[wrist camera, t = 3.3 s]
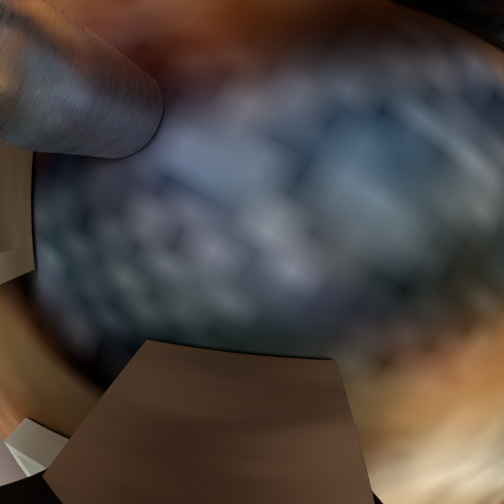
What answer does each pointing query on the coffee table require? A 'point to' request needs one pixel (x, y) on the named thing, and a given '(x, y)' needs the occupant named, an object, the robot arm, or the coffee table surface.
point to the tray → (34, 446)
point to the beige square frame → (15, 214)
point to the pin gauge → (69, 87)
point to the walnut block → (215, 434)
